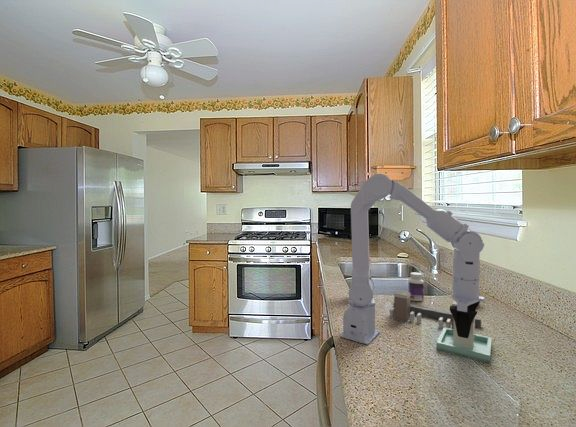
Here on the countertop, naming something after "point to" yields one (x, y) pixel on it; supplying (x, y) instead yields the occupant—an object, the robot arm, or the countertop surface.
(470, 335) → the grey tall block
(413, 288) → the pill bottle
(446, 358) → the countertop surface
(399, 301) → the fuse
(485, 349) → the tray
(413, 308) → the clip block
